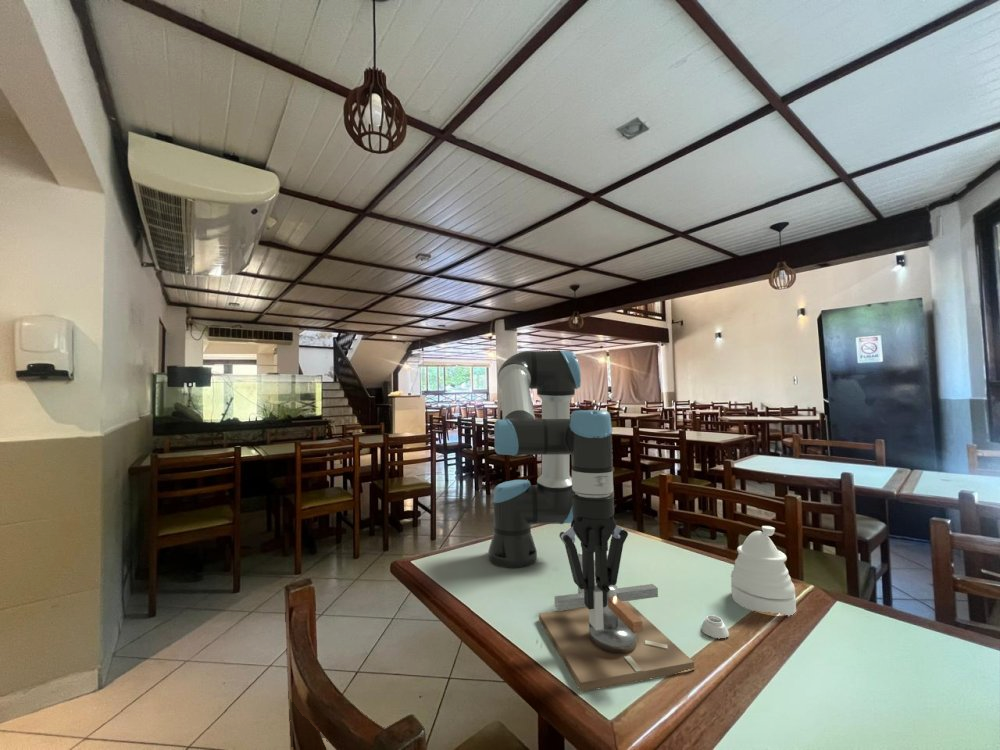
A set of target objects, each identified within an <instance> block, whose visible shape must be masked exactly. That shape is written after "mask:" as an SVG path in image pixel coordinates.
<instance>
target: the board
mask: <svg viewBox="0 0 1000 750" xmlns="http://www.w3.org/2000/svg"><path fill="white" fill-rule="evenodd" d="M623 603H624V604H625V605H626V606H627V607H628V608H629V609H630V610H631V611H632V612H633V613H634V614H635V615H636V616H637V617H639V618H640V619H641V620H642V626H643V632H638V633H637V645H636V647H635V648H634V649H633V650H632V651H629V652H626V653H612V652H608V651H605V650H602V649H600V648H599V647H597V646H596V645H594V644H593V643H592V641H591V640H590V637H589V623H590V622H589V609H588V608H587V607H580V608H573V609H565V610H556V611H554V610H553V611H547V612H540V613H538V620H539V621H538V622H539V623H540V625H541V626H542V628H543V629H544V631H545V633H546V635H547V637H548V638H549V639H550V641H551V644H552V645H553V647H554V649H555V650H556V652H557V653H558V655H559V657H560V659H561V661H562V662H563V664H564V665H565V667H566V668H567V671H568V672H569V675H571V678H572V679H573V681H574V683H575V685H576V686H577V688H578V687H579V688H578V689H580V690H579V691H580V693H583V692H582V691H584V692H588V691H587V690H590V691H594V690H593V689H595V690H599V689H598V688H600V689H604V688H603V687H606V688H611V687H615V686H621V685H627V684H630V683H636V681H637V682H641V680H643V681H646V680H647V679H648V680H651V679H650V678H653V679H656V678H657V677H659V678H662V676H663V677H667V675H669V676H672V675H671V674H675V673H678V672H681V671H684V670H688V669H692V668H694V669H695V662H694V660H692V659H691V658H690V657H689V656H688V655H687V653H685V652H684V651H683V650H681V648H680V647H679V646H677V645H676V644H675V643H674V642H673V641H672V640H671V639H670V638H669V637H667V636H666V635H665V634H664V633H663V632H662V631H661V630H659V628H658V627H656V626H655V624H653V623H652V622H651V621H650V620H649V619H648V618H647V617H646V616H644V615H643V613H641V611H639V610H638V609H637V608H636V607H635V606H634V605H632V603H630V601H624V602H623ZM675 675H676V674H675ZM657 679H658V678H657ZM610 686H611V687H610Z"/></svg>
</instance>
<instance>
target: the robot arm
mask: <svg viewBox="0 0 1000 750" xmlns="http://www.w3.org/2000/svg"><path fill="white" fill-rule="evenodd" d="M581 381H582V376H581V368H580V363H579V360H578V357H577V355H576V354H575V353H574V352H573V351H570V350H569V351H568V350H561V349H559V350H525V351H520V352H518V353H515V354H513V355H511V356H510V357H509V358H507V359H506V360H505V361H504V362H503V363H502V364H501V366H500V367H499V370H498V373H497V384H498V387H499V388H500V390H501V408H502V414H501V415H502V419H498V420H495V422H494V432H493V434H494V437H493V438H494V451H495V453H496V454H498V455H502V456H505V455H506V456H507V455H508V456H513V457H515V456H528V455H529V456H531V455H532V456H534V455H535V456H536V455H537V456H538V455H541V475H540V476H539V477H538V478H537V480H536V484H531V481H530V480H528V479H513V480H509V481H508V480H507V481H503V482H502V483H499V484H497V485H496V486H495V487H494V489H493V499H492V503H493V534H492V538H491V542H490V544H489V548H488V555H487V556H488V561H489V562H490V563H492V564H493V565H495V566H499V567H503V568H510V569H511V568H512V569H513V568H517V569H518V568H523V567H528V566H531V565H533V564H534V563H536V562H537V559H538V554H537V553H538V550H537V547H536V545H535V542H534V538H533V535H532V529H531V528H532V526H531V525H537V524H538V525H541V524H542V525H543V524H544V525H550V524H552V525H553V524H554V525H555V524H556V525H558V524H559V525H564V524H570V527H569V529H567V530H566V531H565V532H564V531H561V532H560V533H559V539H560V540H561V541H562V543H563V545H564V548H565V550H566V551H565V552H566V555H567V559H568V563H569V567H570V571H571V576H572V579H573V582H574V584H575V585H576V586H577V588H578V587H579V588H580V589H584V603H585V605H586V607H587V608H588V609H589V622H590V624H591V625H592V626H593V627H594V629H595V630H602V629H604V625H603V607H606V606H607V592H608V591H609V590H610V588H609V586H610V585H615V584H616V585H617V581H618V576H619V572H620V565H621V559H622V555H623V554H622V553H623V547H624V543H625V542H626V539H627V538H628V535H629V533H628V531H627V530H625V529H624V528H622V527H620V526H618V525H617V522H616V520H615V518H614V515H615V502H614V501H615V499H614V495H613V494H612V493H613V492H614V472H613V470H614V469H613V467H614V465H613V435H612V433H613V426H612V419H611V414H610V412H609V411H608V410H605V409H603V410H601V409H600V410H596V409H595V410H593V409H589V410H588V409H587V410H585V409H583V410H573V411H572V412H571V414H570V411H571V410H570V409H571V407H570V406H571V404H570V403H571V402H570V401H571V399H572V398H573V397H574V396H575V395H576V394H575V393H576V392H575V391H576V390H578V389H579V388H581V385H582V383H581ZM534 389H536V395H537V396H538V397H539V398H540V400H541V419H540V418H538V419H537V418H536V417H535V412H534V405H533V401H532V396H531V391H530V390H534ZM570 455H571V474H570ZM575 536H576V537H577V539H578V540H579V541H580V546H581V552H582V569H581V565H580V561H579V557H578V553H579V552H578V549H577V547H576V545H575V543H576V537H575ZM609 539H610V542H609ZM608 542H609V543H608ZM608 550H609V553H608V558H607V551H608ZM594 552H595V576H596V583H597V586H596V585H595V581H594ZM582 571H583V573H582Z"/></svg>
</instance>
